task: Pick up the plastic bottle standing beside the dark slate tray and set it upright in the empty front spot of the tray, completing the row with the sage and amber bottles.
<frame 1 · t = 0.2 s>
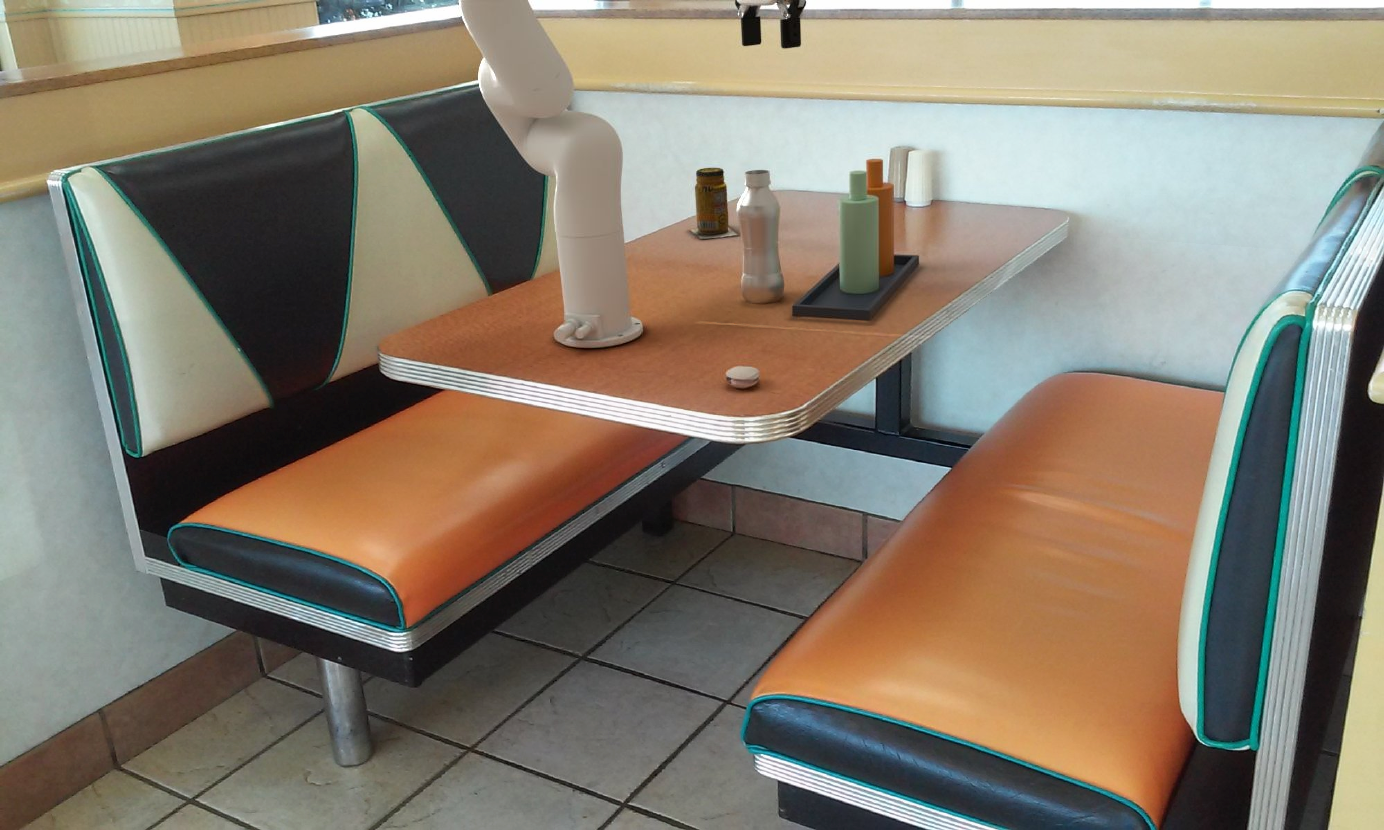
hand: (771, 46, 172), 37 cm above the table, tool pointing down, fingers open, 9 cm apart
tray: (859, 292, 182), on the table
sage bottle: (859, 288, 182), point 1 cm above the table, touching tray
amber bottle: (875, 272, 190), point 1 cm above the table, touching tray
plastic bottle: (763, 303, 180), on the table
condiment: (713, 234, 225), on the table
macaroon: (745, 386, 148), on the table
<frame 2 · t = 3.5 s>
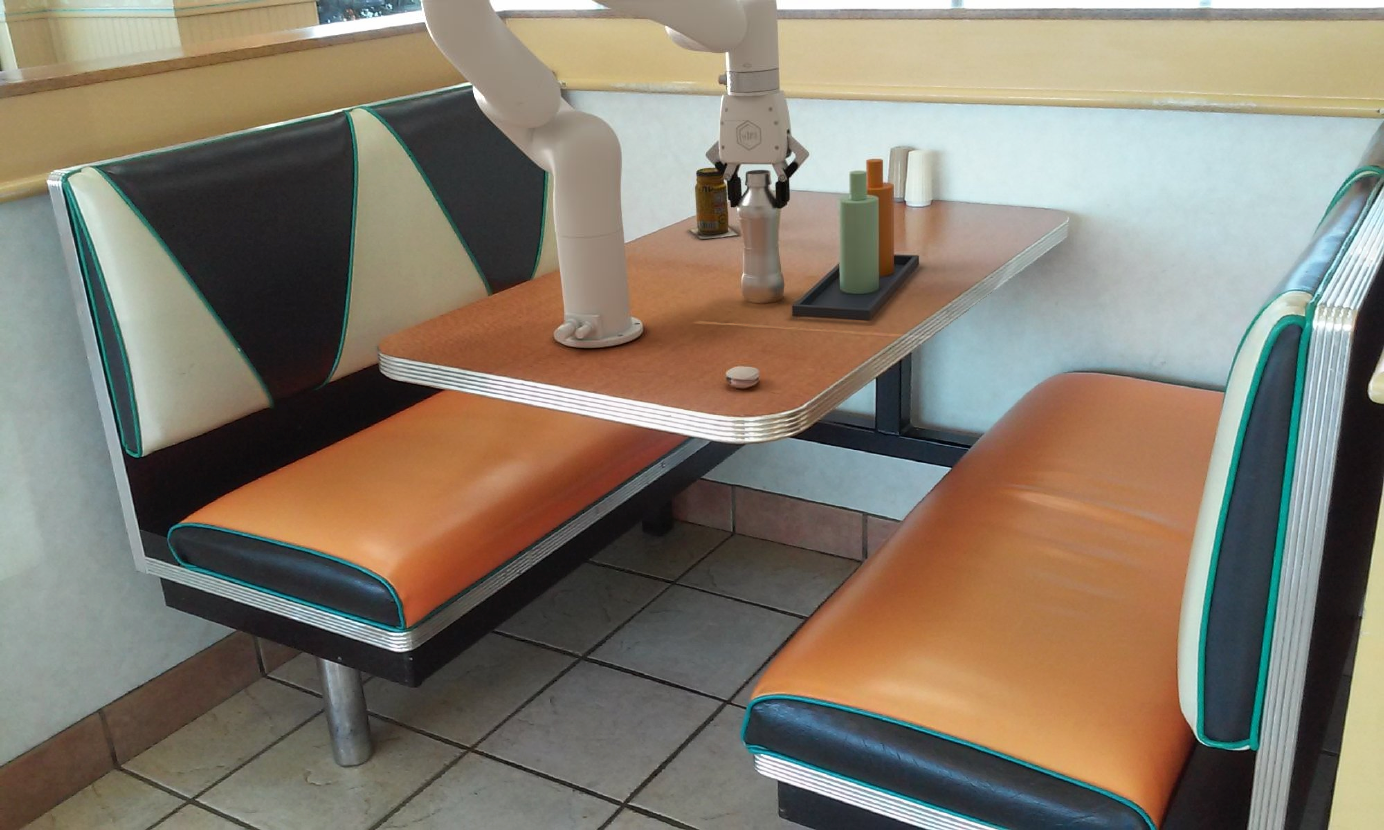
hand: (758, 205, 175), 15 cm above the table, tool pointing down, fingers closed on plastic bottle, 6 cm apart
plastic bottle: (763, 303, 180), on the table, touching gripper
everything else where it was.
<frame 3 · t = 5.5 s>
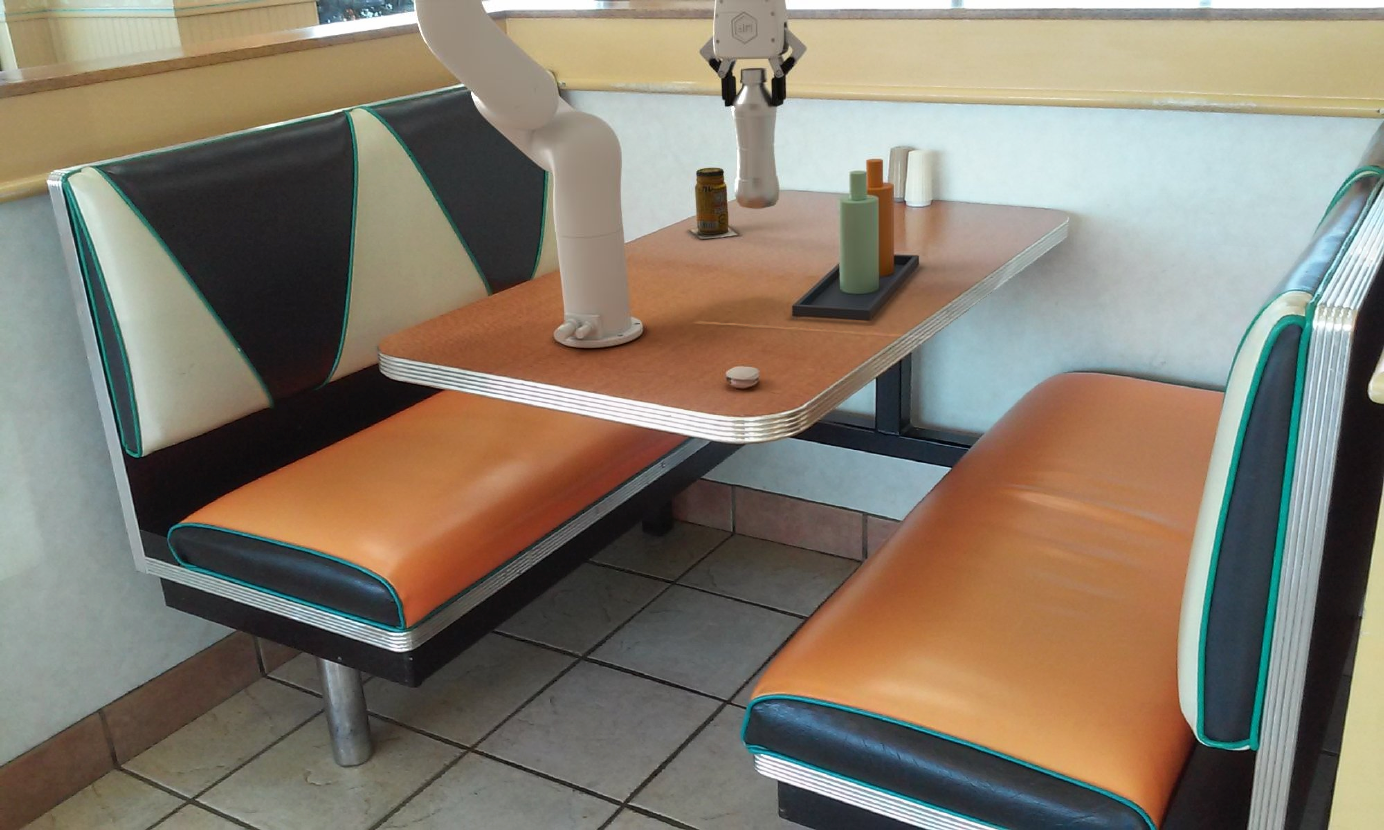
hand: (754, 104, 169), 30 cm above the table, tool pointing down, fingers closed on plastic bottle, 6 cm apart
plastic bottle: (757, 209, 175), point 15 cm above the table, touching gripper
everything else where it was.
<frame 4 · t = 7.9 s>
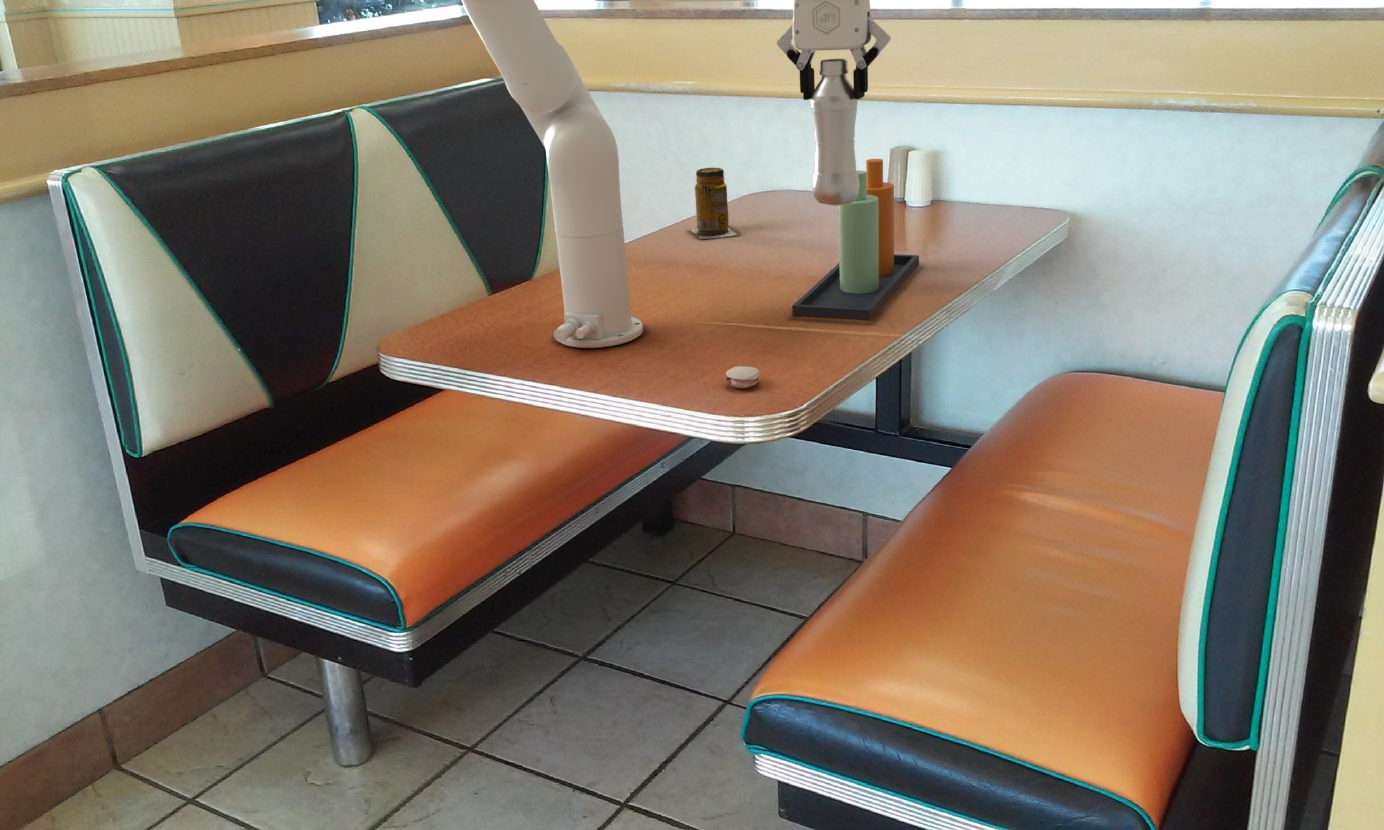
hand: (834, 97, 163), 31 cm above the table, tool pointing down, fingers closed on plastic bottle, 6 cm apart
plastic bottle: (836, 206, 169), point 16 cm above the table, touching gripper
everything else where it was.
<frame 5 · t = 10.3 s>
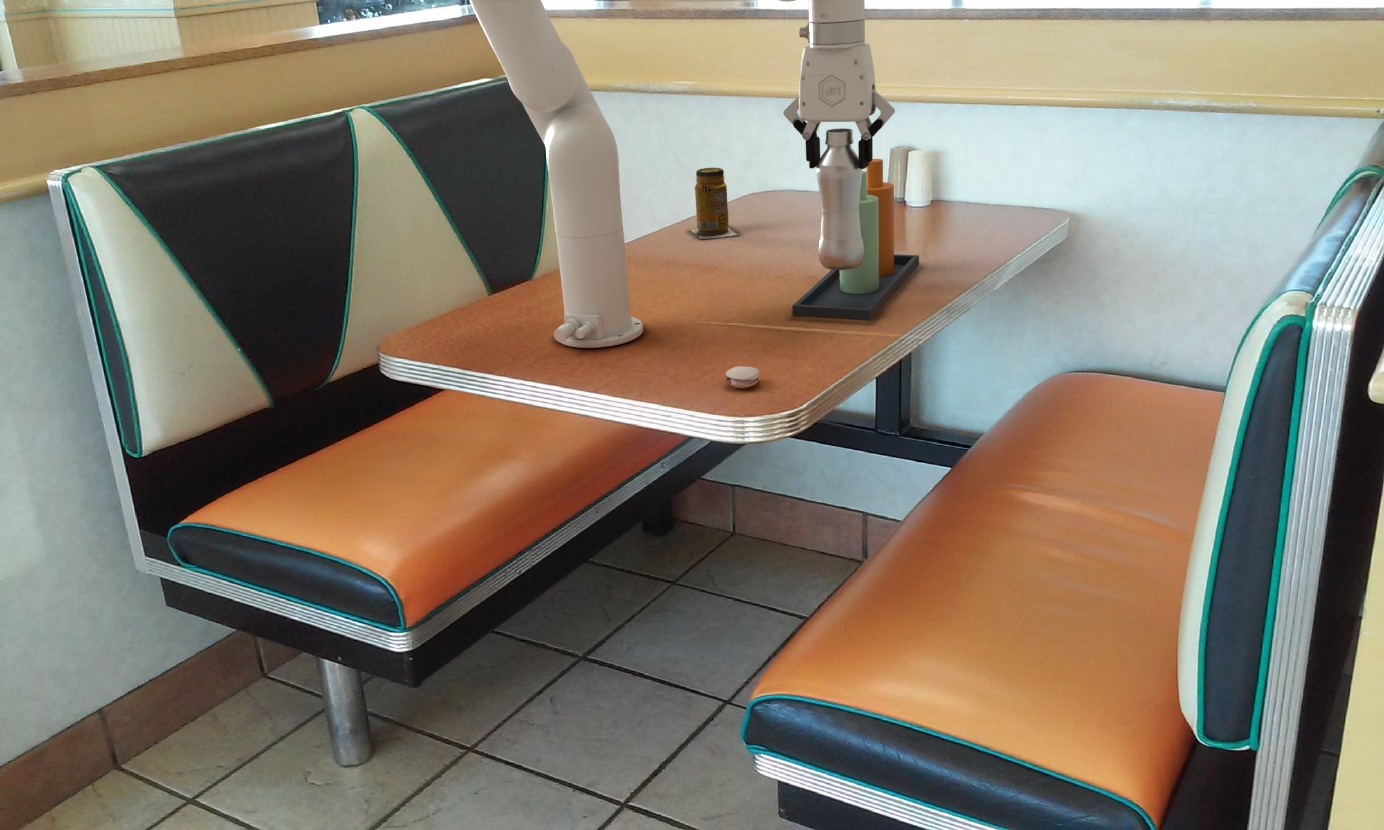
hand: (839, 166, 166), 21 cm above the table, tool pointing down, fingers closed on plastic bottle, 6 cm apart
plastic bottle: (841, 270, 172), point 6 cm above the table, touching gripper
everything else where it was.
when the fingers open (16 cm above the table, at t = 12.5 s): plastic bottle stays where it is, resting on tray.
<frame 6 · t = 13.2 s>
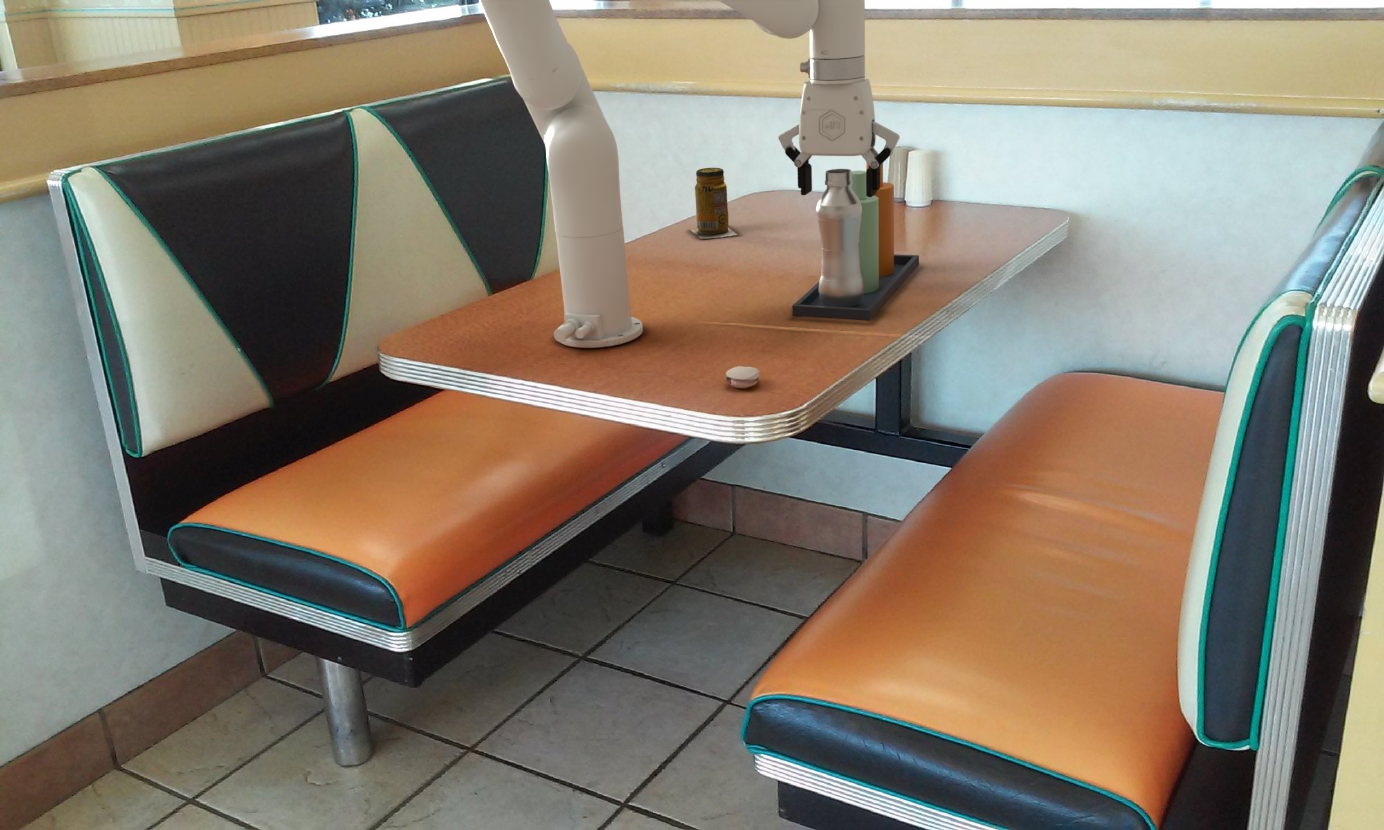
hand: (838, 194, 168), 17 cm above the table, tool pointing down, fingers open, 9 cm apart
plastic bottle: (841, 307, 174), resting on tray
everything else where it was.
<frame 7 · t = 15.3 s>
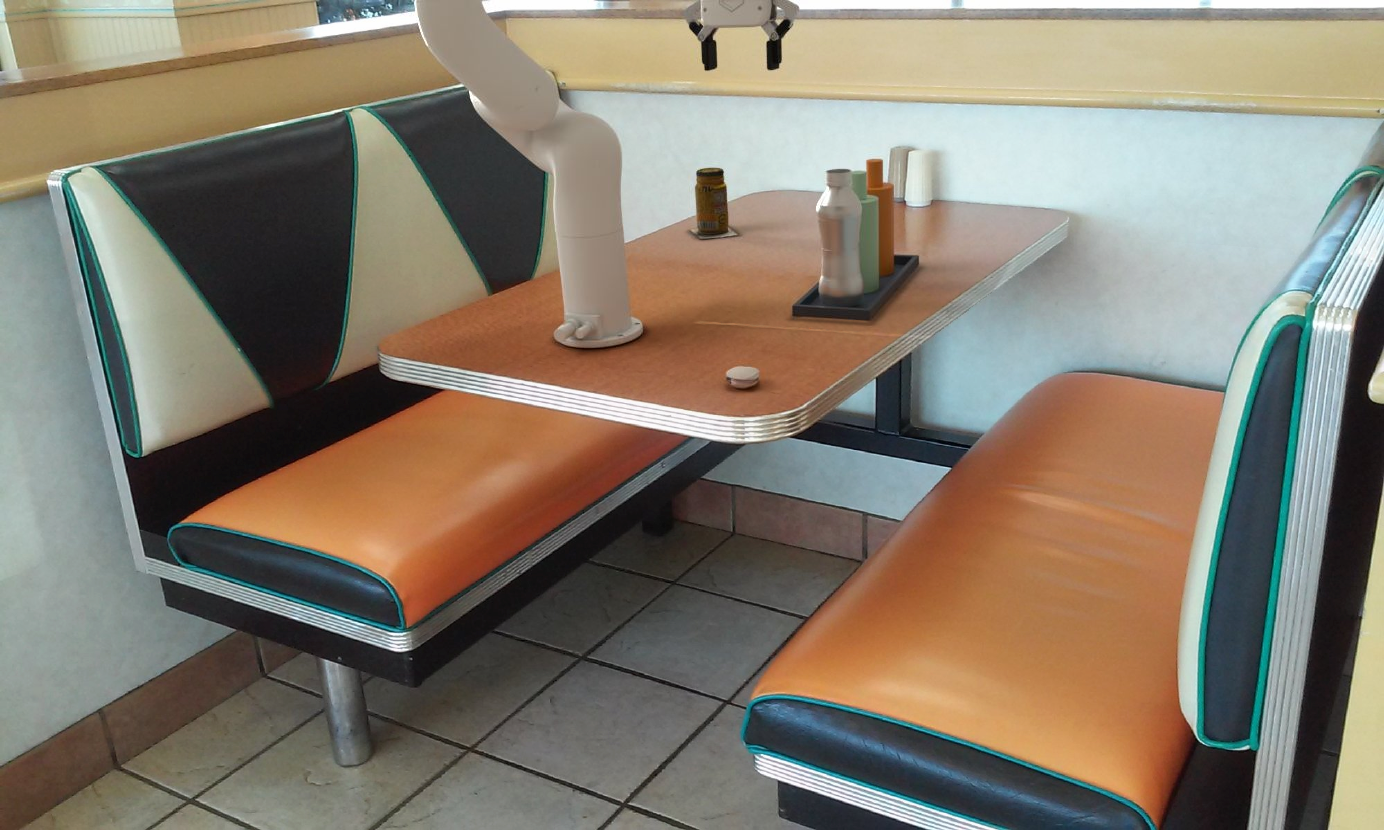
hand: (741, 69, 167), 35 cm above the table, tool pointing down, fingers open, 9 cm apart
nothing on the table moved.
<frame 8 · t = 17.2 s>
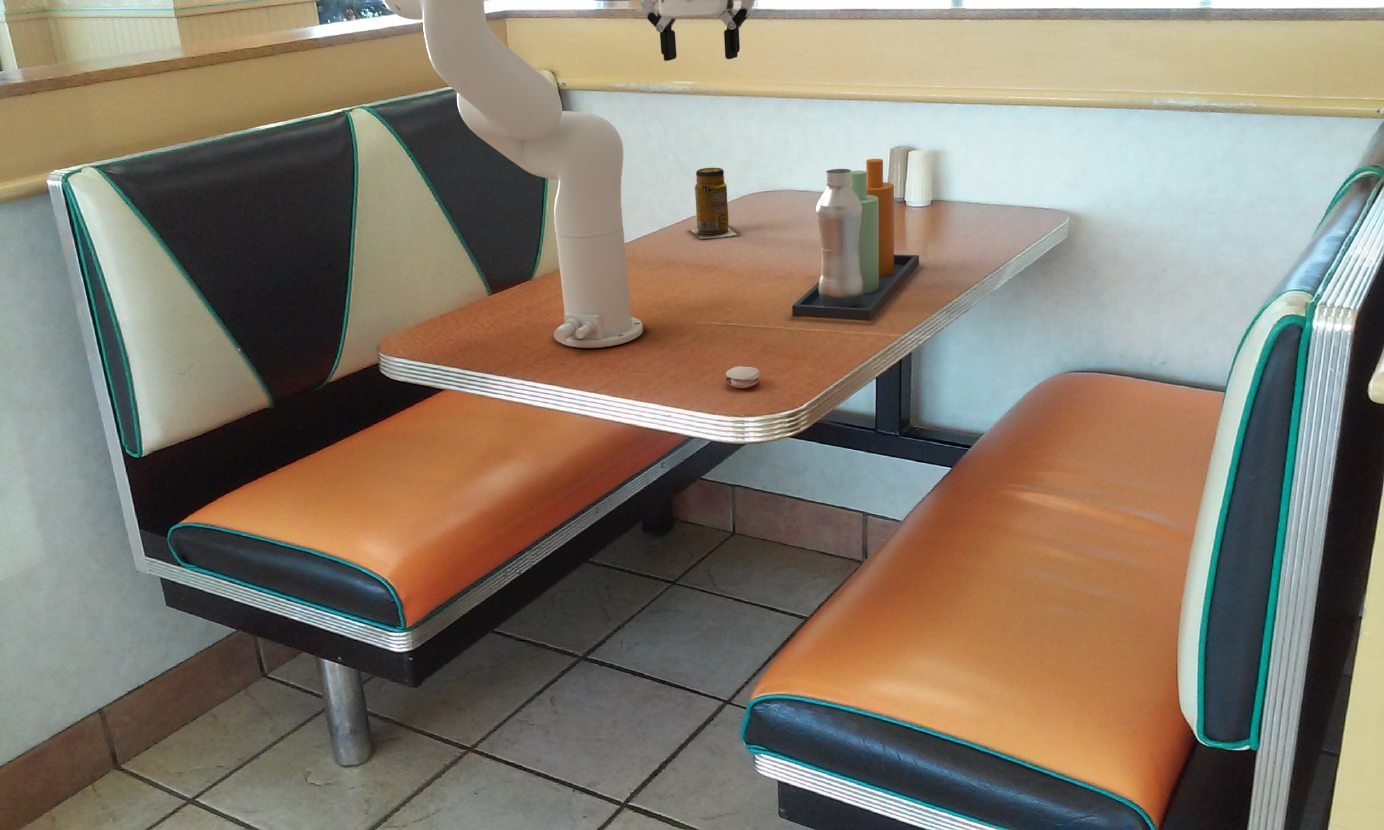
hand: (700, 59, 170), 36 cm above the table, tool pointing down, fingers open, 9 cm apart
nothing on the table moved.
at the end: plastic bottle 0.1 cm from the target spot in the tray, point 0.4 cm above the tray's base; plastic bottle tilted 0°; sage bottle moved 0.0 cm from its start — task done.
